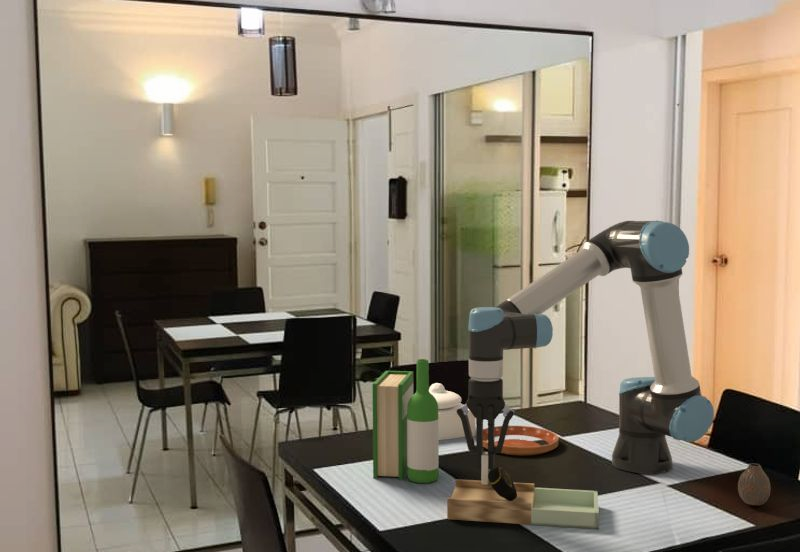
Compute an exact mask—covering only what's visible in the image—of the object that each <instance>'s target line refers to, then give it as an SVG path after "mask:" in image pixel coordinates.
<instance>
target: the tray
mask: <svg viewBox="0 0 800 552" xmlns="http://www.w3.org/2000/svg"><path fill="white" fill-rule="evenodd" d="M598 495H599V494H598V490H584V489H567V488H566V489H565V488H564V489H563V488H549V487H534V507H533V508H531V526H538V527H539V526H540V527H543V526H544V527H555V528H571V529H587V530H588V529H589V530H600V529H599V528H600V526H599V525H600V523H599V522H600V512H599V511H600V510H599V509H600V508H599V497H598Z"/></svg>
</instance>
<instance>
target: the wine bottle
mask: <svg viewBox="0 0 800 552" xmlns="http://www.w3.org/2000/svg"><path fill="white" fill-rule="evenodd" d="M429 364H430V363H429V360H428V359H426V358H424V359H423V358H422V359H421V358H420V359H417V360H416V391H415V393H413V395H412V397H411V398H410V399H409V402H408V405H407V472H406V474H407V478H408V480H409V481H411V482H413V483H417V484H429V483H433V482H436V480H438V478H439V463H440V461H439V456H440V455H439V441H440V440H438V403H437V401H436V399H435V397H434V396H433V395H432V394H431V393H430V392H429V388H430V384H429V383H430V378H429V377H430V375H429V370H430V366H429Z"/></svg>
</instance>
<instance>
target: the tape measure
mask: <svg viewBox="0 0 800 552" xmlns="http://www.w3.org/2000/svg"><path fill="white" fill-rule="evenodd" d="M488 479H489V482H490V485H491V487H492V489H494V490H495V491H496V493H497V494H498V495H499V496H501V497H503V498H505V499H507V500H509V501H513V500H514V499H516V497H517V492H516V489H515V486H514V483H515V482H514V481H513V479H512V476H511V474H510V473H508V472H507V471H506V470H505V469H504V468H502V467H499V466H497V467H495V468H494V467H493V469H490V470H489V474H488ZM513 482H514V483H513Z"/></svg>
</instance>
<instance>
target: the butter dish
mask: <svg viewBox="0 0 800 552" xmlns="http://www.w3.org/2000/svg"><path fill="white" fill-rule="evenodd" d="M429 392H430V393H431V394H432V395H433V396H434V397H435V399H436V401H437V403H438V440H439V441H442V440H443V441H444V440H450V439H451V440H453V439H457V438H458V439H459V438H465V433H464V429H463V425H462V421H461V418H460V417H459V415H458V414H457V409H458V408H459V407H462V406H464V405H465V404H463V403H461V402H462V397H461V396H460V395H459V394H458V393H455V392H453V391H450V390H449V391H448V390H446V389H445V386H444V385H443V384H442V383H438V382H435V383H432V384H431V385H429ZM467 416H468V419H469V423H470V427H471V431H472V436H473V437H474V436H476V418H475V417H474V416H473V414H472V413H471V411H470V410H469V408H468V414H467Z"/></svg>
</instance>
